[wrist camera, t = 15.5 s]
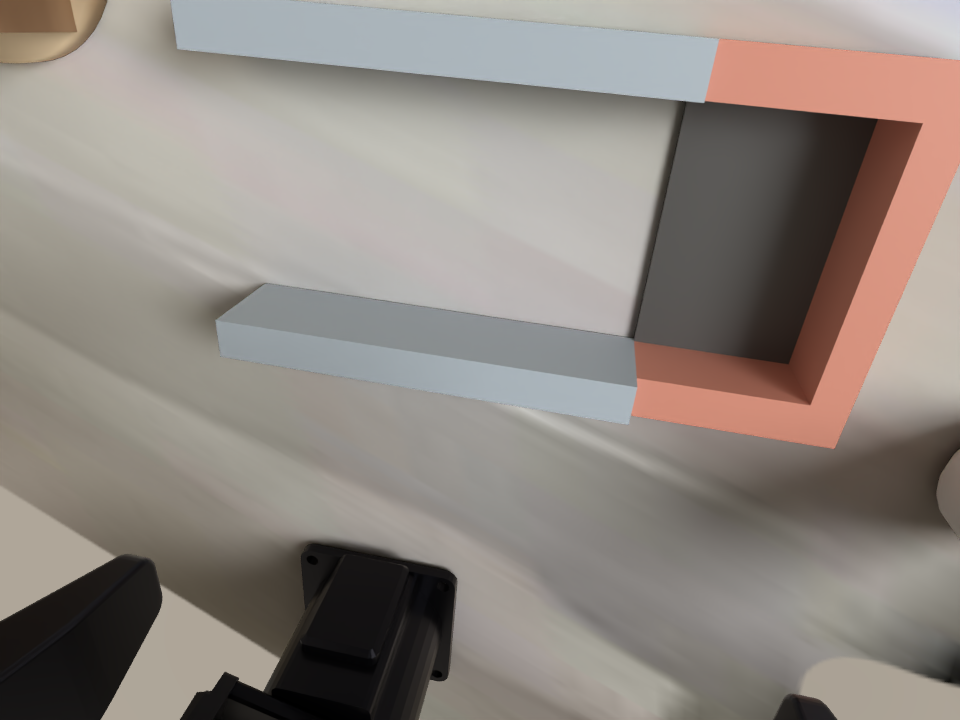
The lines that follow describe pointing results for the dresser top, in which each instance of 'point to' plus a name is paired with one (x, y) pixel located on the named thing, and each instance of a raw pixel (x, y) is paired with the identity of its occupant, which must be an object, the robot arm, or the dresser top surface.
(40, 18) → the walnut block
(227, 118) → the dresser top surface
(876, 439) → the dresser top surface
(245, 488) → the dresser top surface
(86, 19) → the cork coaster
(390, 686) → the robot arm
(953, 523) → the beverage can
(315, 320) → the channel
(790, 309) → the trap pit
